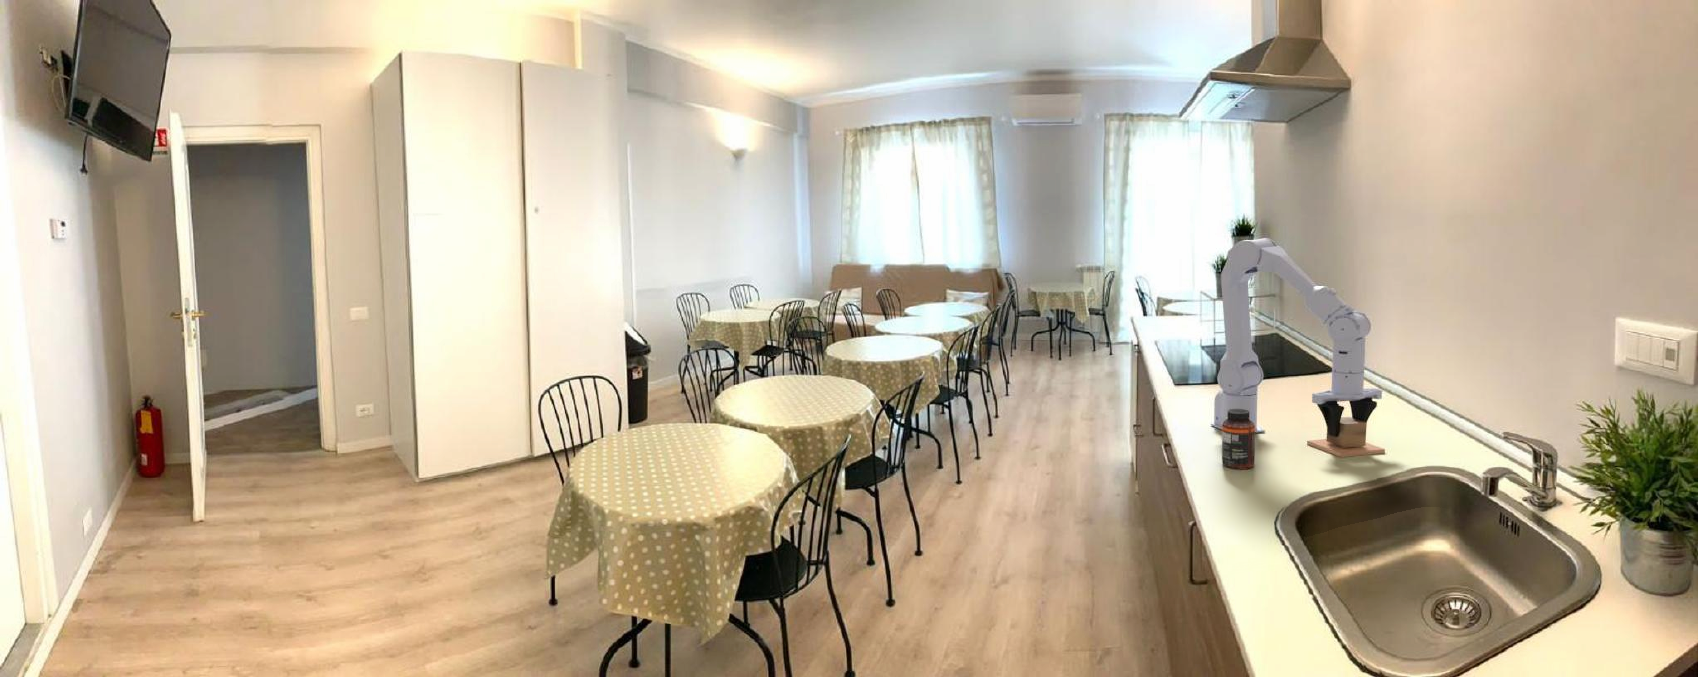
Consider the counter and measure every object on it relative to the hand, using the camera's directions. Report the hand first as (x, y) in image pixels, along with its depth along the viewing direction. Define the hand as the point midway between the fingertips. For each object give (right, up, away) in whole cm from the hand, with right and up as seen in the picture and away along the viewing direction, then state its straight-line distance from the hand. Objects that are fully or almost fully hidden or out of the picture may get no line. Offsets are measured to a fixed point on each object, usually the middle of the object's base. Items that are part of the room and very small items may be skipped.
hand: (1345, 434), depth 175 cm
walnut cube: (0, -2, 0) cm, 2 cm away
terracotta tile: (0, -3, 0) cm, 3 cm away
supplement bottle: (-26, -6, -7) cm, 27 cm away
